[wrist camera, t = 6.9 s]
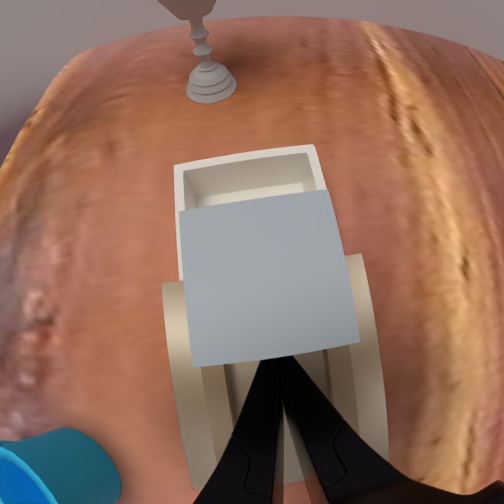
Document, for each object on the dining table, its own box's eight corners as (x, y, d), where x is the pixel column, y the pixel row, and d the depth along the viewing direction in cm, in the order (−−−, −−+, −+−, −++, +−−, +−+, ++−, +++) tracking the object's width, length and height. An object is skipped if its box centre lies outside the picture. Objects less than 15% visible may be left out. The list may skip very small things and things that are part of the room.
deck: (356, 428, 17) (397, 468, 10) (214, 449, 18) (187, 499, 10) (335, 278, 21) (368, 246, 13) (193, 300, 21) (152, 278, 13)
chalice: (165, 107, 26) (101, -52, 9) (190, 65, 28) (151, -76, 11) (237, 113, 25) (207, -76, 8) (255, 69, 27) (242, -89, 10)
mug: (119, 445, 18) (59, 479, 10) (124, 519, 16) (79, 563, 8) (17, 401, 19) (-45, 407, 11) (24, 471, 17) (-28, 489, 9)
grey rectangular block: (312, 340, 13) (360, 342, 6) (234, 352, 13) (193, 367, 6) (300, 264, 14) (328, 189, 7) (224, 276, 14) (178, 211, 7)
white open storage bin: (329, 279, 21) (344, 264, 16) (198, 299, 21) (180, 288, 16) (307, 178, 23) (313, 144, 19) (190, 195, 23) (173, 165, 19)
